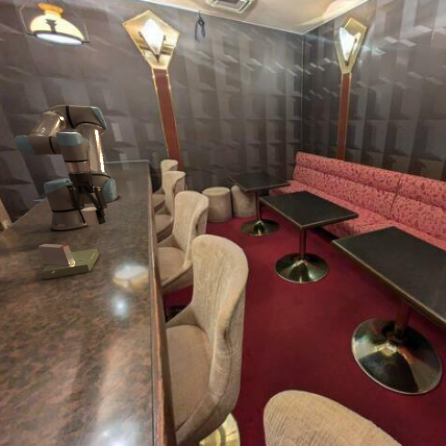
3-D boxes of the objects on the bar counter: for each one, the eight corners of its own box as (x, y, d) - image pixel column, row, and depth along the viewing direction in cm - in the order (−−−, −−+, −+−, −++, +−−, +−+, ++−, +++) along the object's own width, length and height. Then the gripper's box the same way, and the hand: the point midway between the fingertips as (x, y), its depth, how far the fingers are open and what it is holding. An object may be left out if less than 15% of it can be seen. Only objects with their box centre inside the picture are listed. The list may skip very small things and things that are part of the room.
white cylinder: (93, 227, 107) (89, 212, 104) (80, 225, 108) (76, 210, 106) (108, 221, 113) (104, 207, 111) (95, 220, 114) (91, 205, 112)
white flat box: (45, 264, 86) (38, 245, 83) (51, 261, 87) (44, 242, 85) (69, 265, 85) (62, 247, 82) (74, 263, 87) (68, 244, 84)
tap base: (49, 262, 92) (46, 255, 91) (98, 255, 98) (96, 248, 97) (28, 285, 79) (25, 277, 78) (87, 275, 85) (85, 267, 84)
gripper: (109, 171, 105) (121, 221, 114) (65, 168, 106) (81, 218, 115) (94, 174, 98) (108, 227, 107) (48, 172, 99) (66, 224, 108)
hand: (94, 222), depth 111 cm, fingers closed on white cylinder, 7 cm apart
